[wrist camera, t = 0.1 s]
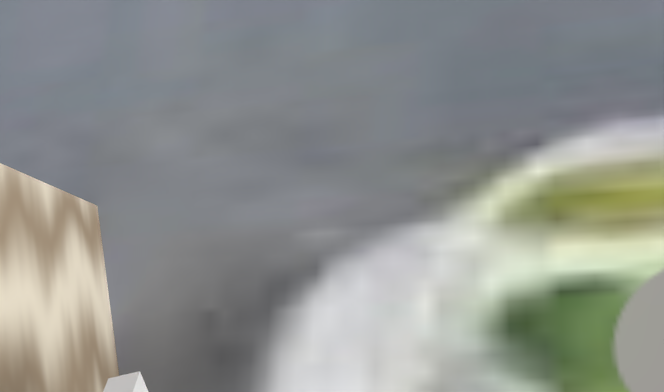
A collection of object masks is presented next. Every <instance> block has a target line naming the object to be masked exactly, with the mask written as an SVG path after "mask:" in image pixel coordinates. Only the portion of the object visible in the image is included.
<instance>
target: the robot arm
mask: <svg viewBox="0 0 664 392" xmlns="http://www.w3.org/2000/svg"><path fill="white" fill-rule="evenodd" d="M103 392H148V390H147V388H146V385H145V383H144V380H143V378H142V376H141V373H140V371H139V372H135V373H130V374H126V375H121V376H117V377H112V378H108V381H107V383H106V386H105V388H104V391H103Z"/></svg>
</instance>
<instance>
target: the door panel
mask: <svg viewBox="0 0 664 392" xmlns="http://www.w3.org/2000/svg"><path fill="white" fill-rule="evenodd" d="M117 376H119V371H118V363H117V356H116V348H115V340H114V332H113V325H112V317H111V309H110V302H109V294H108V286H107V278H106V271H105V263H104V255H103V247H102V240H101V232H100V224H99V216H98V209H97V206H96V205H94V204H92V203H90V202H87V201H85V200H83V199H80V198H78V197H76V196H74V195H71V194H69V193H67V192H65V191H62V190H60V189H58V188H55V187H53V186H51V185H49V184H46V183H44V182H42V181H39V180H37V179H35V178H33V177H30V176H28V175H26V174H24V173H21V172H19V171H17V170H14V169H12V168H10V167H8V166H5V165H3V164H1V163H0V392H103V391H104V388H105V386H106V383H107V381H108V378H112V377H117Z"/></svg>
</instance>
